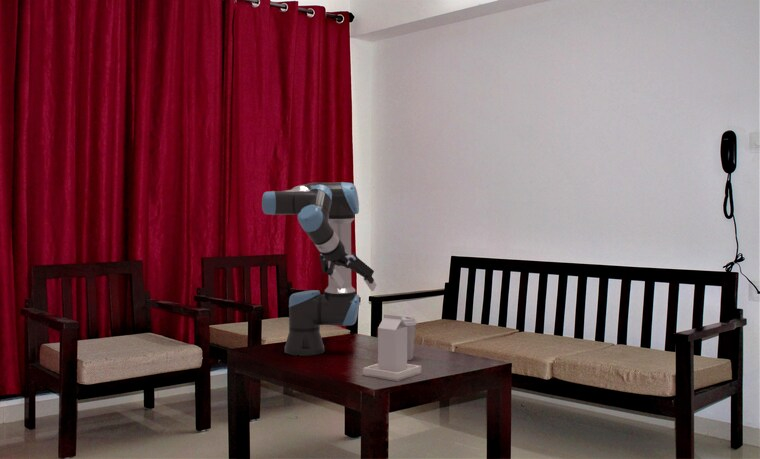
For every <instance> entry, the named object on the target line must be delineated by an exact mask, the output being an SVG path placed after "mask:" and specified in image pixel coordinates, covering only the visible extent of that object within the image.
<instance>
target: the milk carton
mask: <svg viewBox="0 0 760 459" xmlns="http://www.w3.org/2000/svg"><path fill="white" fill-rule="evenodd" d="M402 316H403V315H393V314H383V318H382V320H381V322H380V323H379V326H378V327H377V364H378V370H384V371H390V372H396V373H398V372H401V371H404V370H407V364H408V360H407V326H406V324H405V323H404V322H403V320H402Z"/></svg>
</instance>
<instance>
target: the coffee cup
mask: <svg viewBox="0 0 760 459" xmlns="http://www.w3.org/2000/svg"><path fill="white" fill-rule="evenodd" d="M401 316H402V320H403V322H404V323H405V324H406V326H407V361H412V360H413V359H414V356H413V355H414V346H415V335H416V334H415V333H416V325H418V323H417V320H416V319H415V317H414V316H405V315H401Z"/></svg>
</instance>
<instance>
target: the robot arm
mask: <svg viewBox="0 0 760 459" xmlns="http://www.w3.org/2000/svg"><path fill="white" fill-rule="evenodd" d="M261 207H262V208H261V210H262V212H263V213H264V214H265V215H272V216H276V215H277V216H278V215H279V216H282V215H285V216H287V215H293V216H294V215H297V221H298V223H299V224H300V226H301V229H302V230H303V231H304V232H305V233H306V234H307V235H308V237H309V238H310V240H311V241H312V243H313V244H314V245H315V247H316V249H317V251H319V253H320V254H319V256H318V258H319V261H320V265H321V266H320V267H321V272H322V274H327V275H328V286H326V288H325V289H324V294H321V292H320V290H319V289H317V290H314V289H312V290H304V291H299V292H295V293H294V292H293V293H292V294H291V295H290V296H289V298H288V326H289V327H288V335H287V338H286V343H285V345H284V353H285V354H286V353H287V354H286V355H289V354H290V356H297V355H299V357H300V356H303V357H304V356H305V357H306V356H308V357H309V356H316V355H317V356H318V355H321V354H323V353H325V345H324V343H323V342H324V341H323V338H322V336H321V330H320V327H321V326H341V327H344V326H353V325H355V324H356V322H357V319H358V314H359V309H360V308H359V307H360V295H359V294H357V293H356V288H354V287H353V286H352V271H353V272H354V273H356V274H358V275H360V277H363V278H362V279H363V281H364V283H365V284H366V285H367V286H368V288H369V290H370V291H371V292H374V291H375V289H376V287H377V283H376V282H375V279H374V278H373V274H374V272H375V271H374V270H373V268H371V267H370V266H369V265H367V264H366V263H365V261H362V260H361V259H360V258H359V256H357V255H356V254H355V253H353V252H352V222H353V221H354V220H355V219H356V216H355V215H358V214H359V212H360V203H359V195H358V190H357V188H356V186H355V184H354V183H352V182H344V181H341V182H340V181H339V182H338V181H337V182H310V183H306V184H300V185H297V186H294V187H293V188H291V189H287V190H281V191H280V190H279V191H275V190H272V191H265V192H264V193H263V195H262V199H261Z"/></svg>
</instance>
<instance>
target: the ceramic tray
mask: <svg viewBox="0 0 760 459" xmlns="http://www.w3.org/2000/svg"><path fill="white" fill-rule="evenodd" d="M421 374H422V366H421V365H417V364H410V363H407V370H404V371H401V372H398V373H396V372H390V371H384V370H378V363H375V364H372V365H368V366H365V367H362V376H366V377H370V378H376V379H382V380H386V381H387V380H388V381H393V382H400V381H403V380H406V379H410V378H411V377H415V376H419V375H421Z"/></svg>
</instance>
